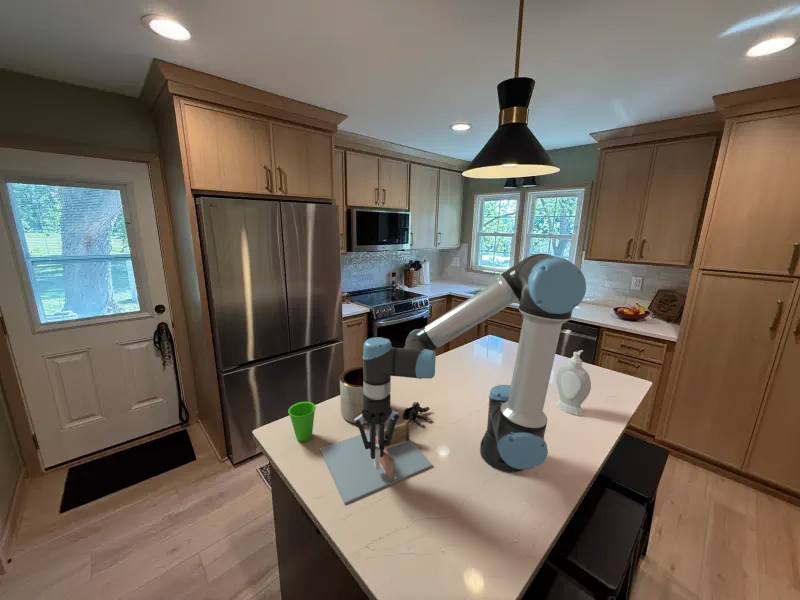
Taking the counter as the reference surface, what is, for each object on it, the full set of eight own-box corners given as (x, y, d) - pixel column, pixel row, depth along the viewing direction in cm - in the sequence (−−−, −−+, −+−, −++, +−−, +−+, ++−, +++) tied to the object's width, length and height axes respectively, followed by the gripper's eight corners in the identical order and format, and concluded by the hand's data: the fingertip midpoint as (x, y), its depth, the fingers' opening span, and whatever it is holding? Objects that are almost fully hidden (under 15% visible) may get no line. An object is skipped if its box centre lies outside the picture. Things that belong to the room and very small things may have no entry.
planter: (390, 422, 119) (389, 384, 116) (341, 428, 116) (339, 389, 112) (382, 398, 136) (382, 363, 132) (340, 402, 133) (338, 367, 129)
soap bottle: (591, 412, 125) (601, 354, 120) (583, 420, 121) (592, 360, 115) (558, 399, 135) (565, 344, 130) (549, 405, 131) (556, 349, 125)
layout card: (432, 466, 98) (432, 464, 98) (344, 504, 85) (344, 502, 84) (395, 424, 118) (395, 422, 118) (319, 449, 105) (319, 447, 105)
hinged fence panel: (373, 453, 102) (373, 435, 100) (378, 451, 102) (378, 434, 101) (390, 482, 90) (390, 462, 89) (395, 480, 91) (395, 460, 89)
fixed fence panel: (410, 441, 109) (410, 421, 107) (373, 455, 102) (372, 434, 101) (407, 438, 110) (408, 419, 109) (371, 452, 104) (370, 431, 102)
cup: (289, 448, 106) (287, 418, 103) (291, 431, 114) (288, 403, 112) (318, 443, 108) (316, 414, 106) (317, 427, 117) (315, 399, 114)
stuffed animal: (414, 429, 114) (400, 399, 121) (406, 440, 121) (393, 411, 127) (440, 418, 120) (425, 390, 126) (431, 429, 126) (417, 402, 133)
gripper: (396, 384, 94) (394, 453, 99) (351, 389, 90) (353, 461, 96) (403, 397, 87) (401, 471, 92) (355, 403, 83) (356, 480, 89)
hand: (376, 466), depth 94 cm, fingers closed
